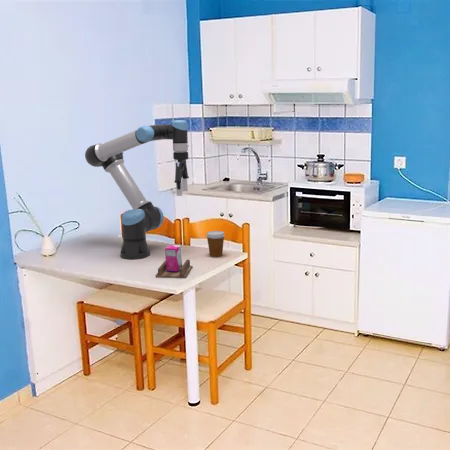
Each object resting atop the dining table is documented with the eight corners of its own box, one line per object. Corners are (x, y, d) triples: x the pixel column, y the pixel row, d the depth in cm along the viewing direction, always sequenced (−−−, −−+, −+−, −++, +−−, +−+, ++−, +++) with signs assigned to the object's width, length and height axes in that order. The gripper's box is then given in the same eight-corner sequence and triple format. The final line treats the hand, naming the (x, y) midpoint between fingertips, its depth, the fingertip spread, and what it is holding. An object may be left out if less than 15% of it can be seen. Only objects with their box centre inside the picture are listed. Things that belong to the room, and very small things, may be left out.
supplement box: (171, 268, 265) (170, 244, 263) (182, 269, 263) (181, 245, 261) (165, 271, 260) (164, 247, 257) (177, 272, 258) (176, 248, 255)
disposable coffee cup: (218, 259, 282) (218, 235, 280) (203, 256, 287) (202, 233, 285) (228, 254, 290) (228, 231, 288) (213, 252, 295) (212, 229, 293)
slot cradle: (155, 277, 255) (155, 269, 254) (163, 267, 270) (163, 259, 270) (185, 278, 253) (185, 269, 252) (192, 267, 268) (192, 259, 268)
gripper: (182, 153, 270) (184, 197, 274) (192, 149, 294) (194, 189, 299) (167, 154, 271) (169, 197, 275) (178, 149, 295) (180, 189, 300)
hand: (182, 193), depth 287 cm, fingers open, 13 cm apart
